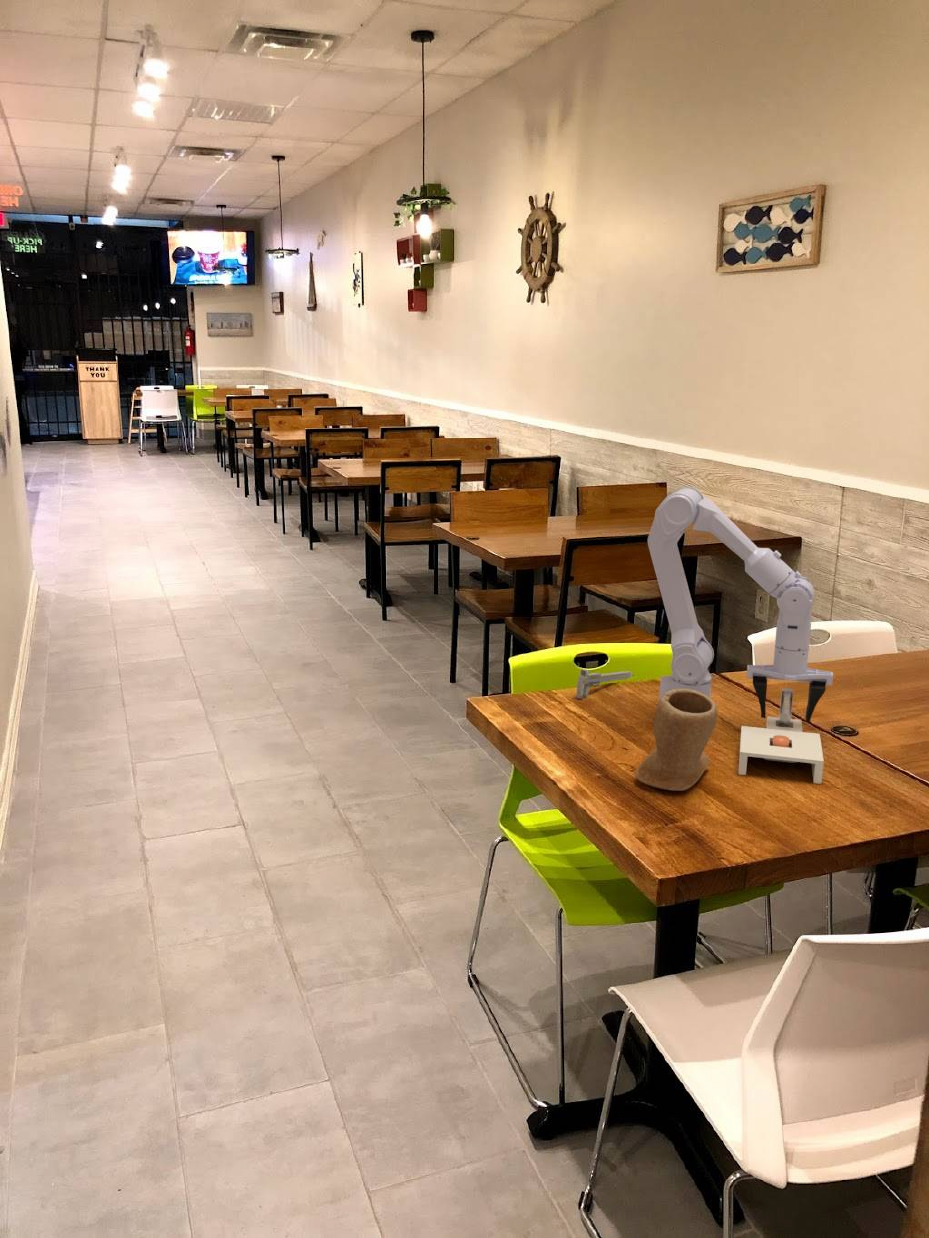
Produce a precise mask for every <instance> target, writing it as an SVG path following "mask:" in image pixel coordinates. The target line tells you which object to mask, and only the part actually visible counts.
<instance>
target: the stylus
mask: <svg viewBox="0 0 929 1238" xmlns="http://www.w3.org/2000/svg"><path fill="white" fill-rule="evenodd" d="M780 695H781V696H780V705H779V714H778V715H779V716H778V718H779V726H780V727H789V728H790V722H791V719H792V710H793V700H794V689H791V688H782V689H781V694H780Z"/></svg>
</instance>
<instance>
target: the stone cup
mask: <svg viewBox="0 0 929 1238" xmlns="http://www.w3.org/2000/svg"><path fill="white" fill-rule="evenodd" d="M717 716H718V707H717V704H716V702H715V701H714V700H713V699H712V698H711V696H710V697H708V696H706V695H705V694H703V693H701V692H698V691H695V690H691V689H674V690H670V691H668V692H666V693H665V694H664V695H663V696H662V697H661V699H660V701H659V700H658V703H657V706H656V711H655V715H654V722H653V734H654V739H655V748H654V749H653V750H652V751H651V752H650V753H649V754H648V755H647V756H646V758H644V760H643V761H642V762H641V763H640V764H639V766H637V768H636V770H635V777H636V779H637V780H638V781H639V782H641V783H643V784H645V785H647V786H650V787H653V788H656V789H662V790H665V791H666V790H667V791H677V792H678V791H679V792H681V791H686V790H688V789H690V788H692V786H694V785H695V784H696V783H697V782H699V780H700V779H701V776H702V775H703V774H704V773H705V771H706V769H707V768H708V767H709V765H710V763H711V759H710V758H709V757H708V756H707V755H706V754H704V750H705V748H706V747H707V744H708V742H709V741H710V739H711V736H712V734H713V733H714V731H715V727H716V723H717Z"/></svg>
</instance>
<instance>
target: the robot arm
mask: <svg viewBox="0 0 929 1238" xmlns="http://www.w3.org/2000/svg"><path fill="white" fill-rule="evenodd" d="M654 512H655V513H654V518H653V522H652V525H651V528H650V531H649V534H648V537H647V546H648V550H649V553H650V557H651V561H652V565H653V568H654V572H655V575H656V579H657V584H658V588H659V591H660V594H661V595H660V596H661V600H662V602H663V603H662V604H663V606H664V609H665V614H666V617H667V621H668V625H669V628H670V632H671V633H670V634H671V641H670V647H671V652H672V659H671V663H670V667H671V672H672V673H671V675H662V676H661V678H660V684H659V685H660V686H659V693H658V695H659V696H658V702H659V701H660V699H661V697H662V696H663V695H664V694H665V693H666V692H668V691H670V690H674V689H691V690H695V691H698V692H701V693H703V694H705V695H706V696H708V697H710V698H711V691H712V690H711V689H712V679H713V678H712V675H711V674H710V672H709V669H708V668H709V666H711V664H712V663H713V661H714V658H715V657H714V656H715V653H714V652H715V651H714V647H712V645H711V643H709V641H708V640H707V639H706V637H705V634H704V630H703V629H702V627H701V626H700V625H699V623H698V619H697V616H696V615H697V614H696V611H695V608H694V603H693V600H692V597H691V596H692V595H691V593H690V589H689V585H688V581H687V578H686V574H685V570H684V567H683V563H682V558H681V554H680V550H679V547H678V542H679V540H680V539H681V538H682V536H683V534H684V533H685V531H686V530H687V528H689V526H690V525H691V524H694V525H693V527H692V530H693V531H701V532H708V533H711V534H712V535H713V536H714V537H716V538H717V539H718V540H720V542H721V543H723V544H724V545H725V546H726V547H727V548H729V549H730V551H732V552H734V554H735V555H737V556H738V557H739V558H740V559H741V560H742V561H743V562H744V572H745V573H746V574H747V575H748V576H749V577H751V579H753V580H754V581H755V582H756V583H757V584H758V585H759V586H760V587H761V588H762V589H763V590H764V591H765V592H766V593H767V594H769V596H771V597H773V598H775V599H776V605H777V607H778V609H779V610H778V611H779V612H778V619H777V621H776V629H775V630H776V631H775V640H774V641H775V643H774V654H773V664H759V665H758V664H755V665H754V664H753V665H752V664H747V667H746V679H752V686H753V688H754V691H755V693H756V696H757V699H758V702H759V706H760V718H761V719H762V718H763V719H765V718H766V709H767V708H766V705H767V704H766V700H767V699H766V698H767V690H768V679H769V680H779V681H780V680H781V681H789V682H791V681H792V682H802V683H803V682H804V683H809V685H808V686H809V687H808V695H807V696H808V699H807V704H806V710H805V722H806V723H811V719H812V715H813V713H814V710H815V708H816V706H817V705H818V703H819V701H820V700H821V698H822V696H823V695H824V694H825V691H826V688H827V687H826V686H833V680H834V672H833V671H827V670H821V669H816V668H810V667H808V661H809V650H810V640H811V631H812V628H811V627H812V622H811V619H812V615H813V614H812V608H813V606H814V599H815V589H814V585H813V584H812V583H811V581H810V580H809V578H807V577H805V576H802V573H800V571H798V570H797V571H796V572H795V570H793V569H792V568H791V567H790V566H789V565H788V564H787V563H786V562H785V561H783V560H782V558H781V557H782V553H780V552H779V551H778V550H774V551H773V550H772V549H771V548H769V547H759V546H757V545H756V544H755V543H754V542H753V541H752V540H751V539H750V538H749V537H748V536H747V535H746V534H745V533H744V532H743V531H742V530H741V529H740V528H739V527H738V526H737V525H736V524H735V523H734V522H733V521H732V520H731V519H730V518H729V516H727V515H726V514H725V513H724V512H723V511H722V510H721V508H719V506H717V505H716V504H715V502H713V500H711V499H710V498H708V497H707V496H705V497H704V495H703V494H702V493H701V492H700V490H698V488H695V487H693V486H683V487H680V488H679V489H676V491H675V492H674V493H671V494H669V495H667V496H666V497H665V498H664V499H663V500H662V501H661V503H660V504H659V505H658V507H657V508H656V509H655V511H654Z"/></svg>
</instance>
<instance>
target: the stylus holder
mask: <svg viewBox="0 0 929 1238" xmlns="http://www.w3.org/2000/svg"><path fill="white" fill-rule="evenodd" d="M802 723H803V722H802V719H797V718H791V722H790V728H789V727H780V726H779V717H775V716H766V725H765V726H766V727H765V728H768V729H777V730H787V731H797V732H804V731H803V724H802Z"/></svg>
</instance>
